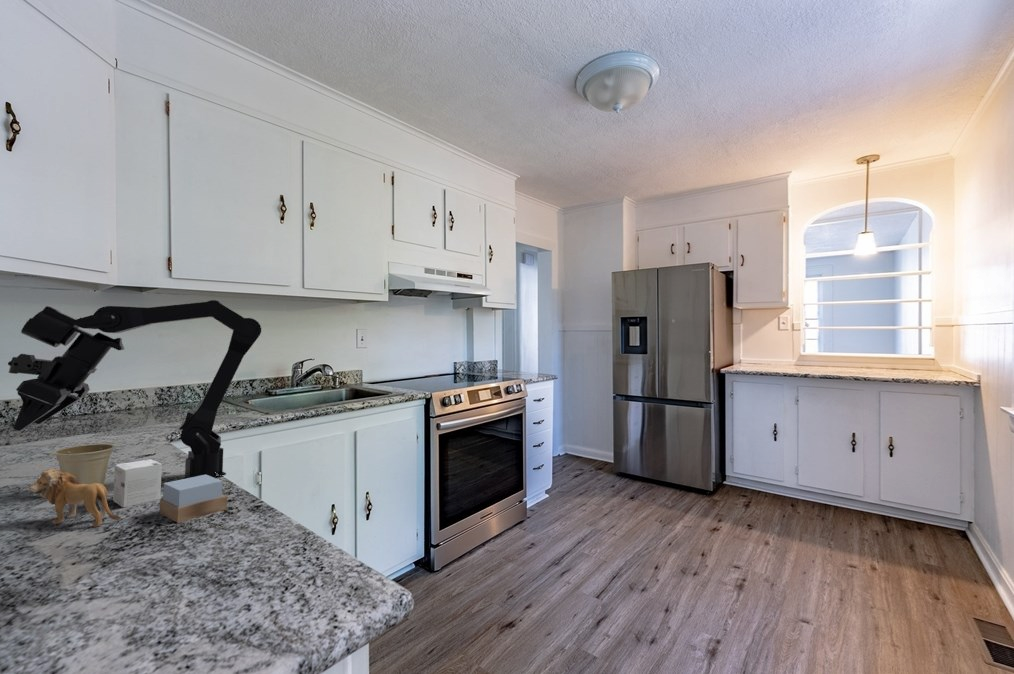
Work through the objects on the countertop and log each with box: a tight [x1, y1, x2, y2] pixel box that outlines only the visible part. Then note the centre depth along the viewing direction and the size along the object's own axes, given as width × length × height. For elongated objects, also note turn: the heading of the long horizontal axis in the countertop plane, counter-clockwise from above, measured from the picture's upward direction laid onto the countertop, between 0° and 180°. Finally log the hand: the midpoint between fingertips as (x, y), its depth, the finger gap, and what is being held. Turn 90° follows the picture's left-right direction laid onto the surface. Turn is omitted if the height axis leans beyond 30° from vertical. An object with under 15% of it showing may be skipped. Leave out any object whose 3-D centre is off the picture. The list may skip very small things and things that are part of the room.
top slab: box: [162, 475, 224, 507], centre depth 83 cm, size 7×7×3 cm
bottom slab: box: [159, 493, 228, 524], centre depth 83 cm, size 8×8×3 cm
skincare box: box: [112, 458, 163, 508], centre depth 88 cm, size 6×6×7 cm
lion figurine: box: [28, 468, 122, 528], centre depth 77 cm, size 15×5×9 cm, turn 90°
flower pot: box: [53, 443, 116, 486], centre depth 94 cm, size 9×9×9 cm
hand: (26, 426), depth 88 cm, fingers open, 9 cm apart
